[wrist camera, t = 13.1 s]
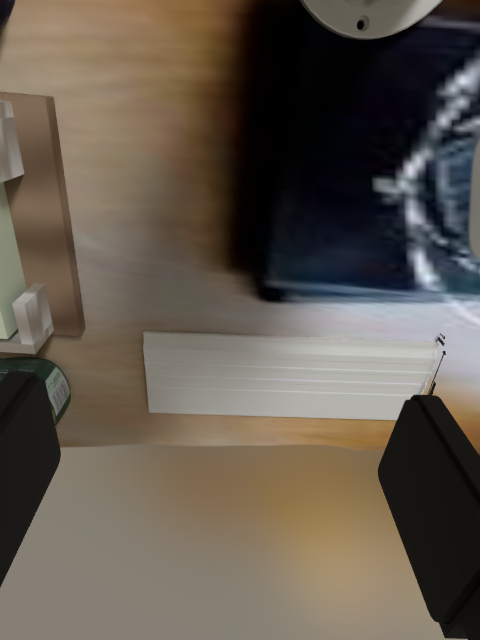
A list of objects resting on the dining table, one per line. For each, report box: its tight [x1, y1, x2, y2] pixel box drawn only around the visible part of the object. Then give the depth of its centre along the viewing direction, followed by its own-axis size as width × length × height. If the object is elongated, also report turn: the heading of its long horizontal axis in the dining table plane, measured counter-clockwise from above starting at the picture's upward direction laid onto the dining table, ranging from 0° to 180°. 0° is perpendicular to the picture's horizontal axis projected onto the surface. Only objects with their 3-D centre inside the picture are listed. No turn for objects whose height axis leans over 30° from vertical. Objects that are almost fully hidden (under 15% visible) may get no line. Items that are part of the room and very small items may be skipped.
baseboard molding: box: [143, 331, 446, 420], centre depth 42 cm, size 31×3×12 cm
